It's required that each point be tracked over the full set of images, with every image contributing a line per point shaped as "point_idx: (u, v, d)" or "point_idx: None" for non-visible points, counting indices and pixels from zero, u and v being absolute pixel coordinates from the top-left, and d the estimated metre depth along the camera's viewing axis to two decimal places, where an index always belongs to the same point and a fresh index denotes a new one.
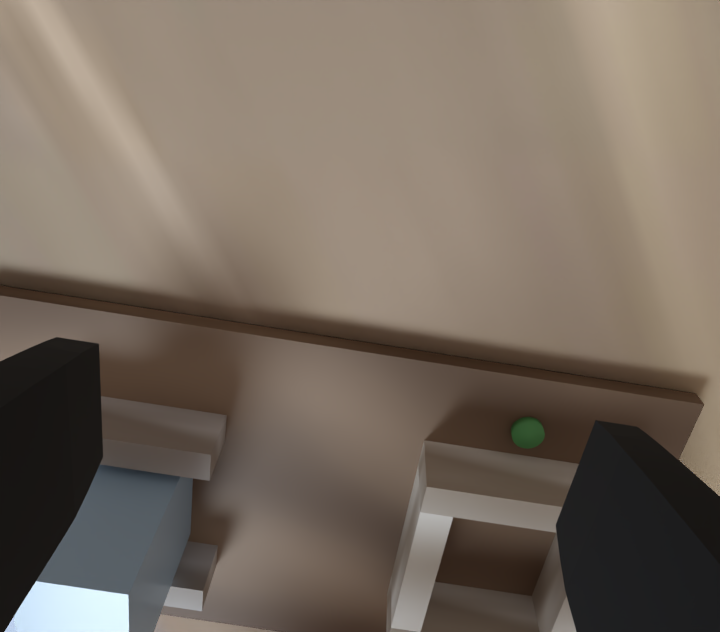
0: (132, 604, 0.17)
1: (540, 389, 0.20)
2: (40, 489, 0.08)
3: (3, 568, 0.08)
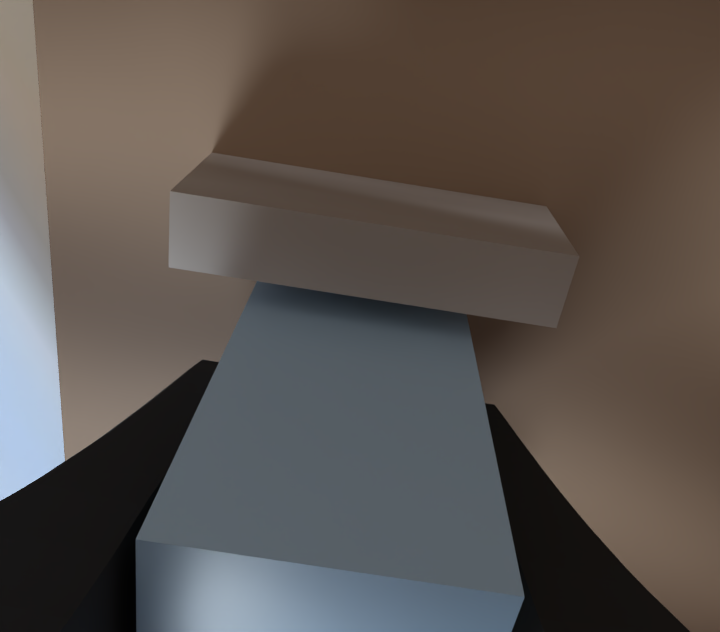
0: None
1: None
2: None
3: None
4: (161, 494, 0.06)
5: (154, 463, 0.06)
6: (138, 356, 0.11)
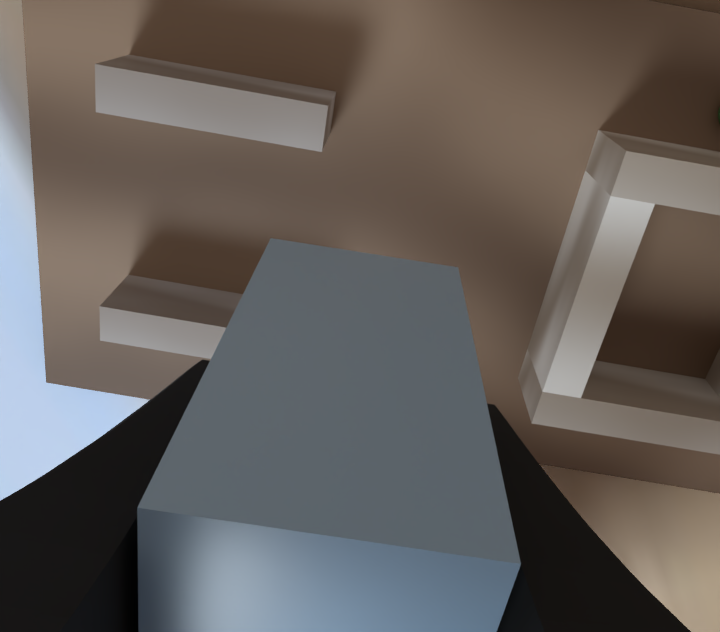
0: None
1: None
2: None
3: None
4: (162, 466, 0.06)
5: (154, 463, 0.06)
6: (87, 195, 0.17)
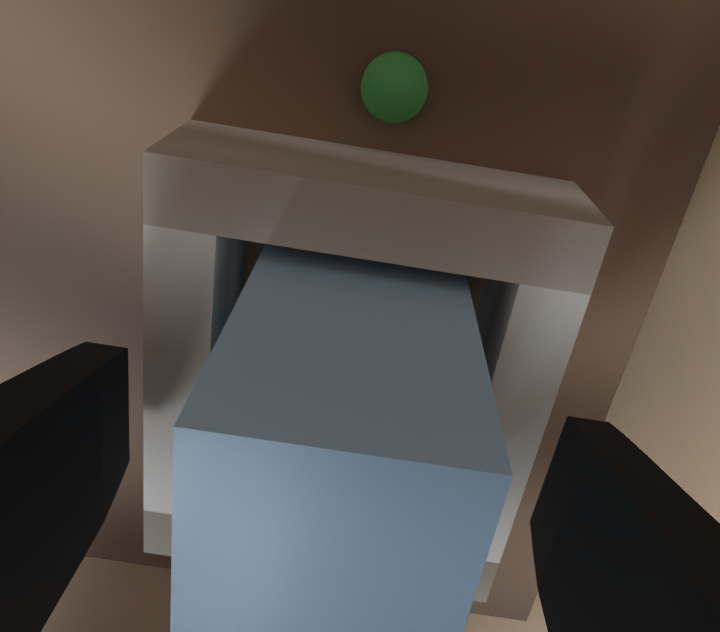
0: None
1: None
2: (73, 494, 0.08)
3: (38, 573, 0.08)
4: (193, 395, 0.06)
5: None
6: None
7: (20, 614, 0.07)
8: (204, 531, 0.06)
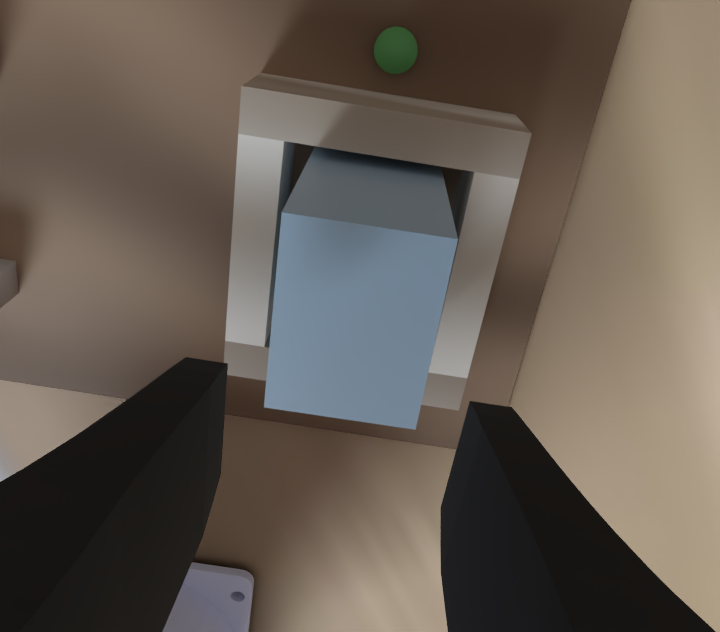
0: None
1: None
2: (185, 511, 0.08)
3: (158, 591, 0.08)
4: (287, 204, 0.12)
5: (130, 459, 0.06)
6: None
7: None
8: (293, 279, 0.12)
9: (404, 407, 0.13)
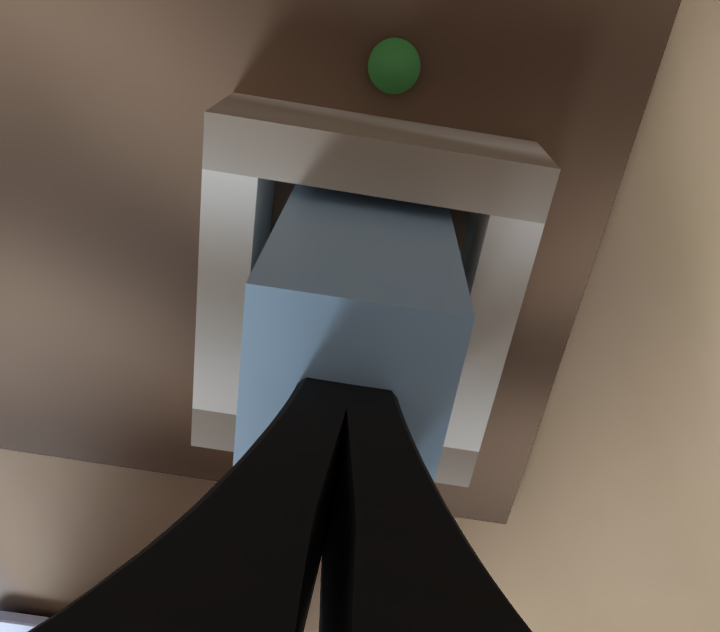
0: None
1: None
2: (322, 531, 0.08)
3: (304, 612, 0.08)
4: (255, 269, 0.09)
5: (304, 486, 0.06)
6: None
7: None
8: (262, 365, 0.09)
9: None
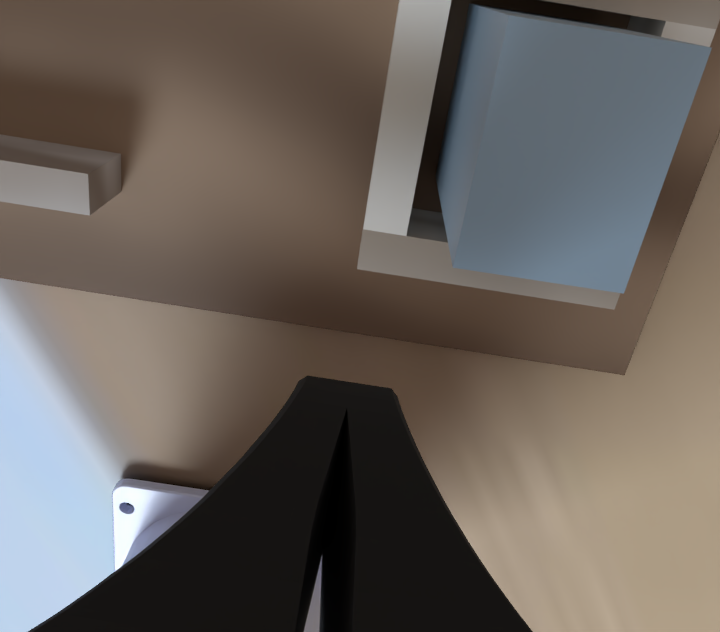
0: None
1: None
2: (322, 531, 0.08)
3: (304, 612, 0.08)
4: (505, 15, 0.10)
5: (305, 486, 0.06)
6: None
7: None
8: (510, 103, 0.10)
9: (615, 265, 0.11)
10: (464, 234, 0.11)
